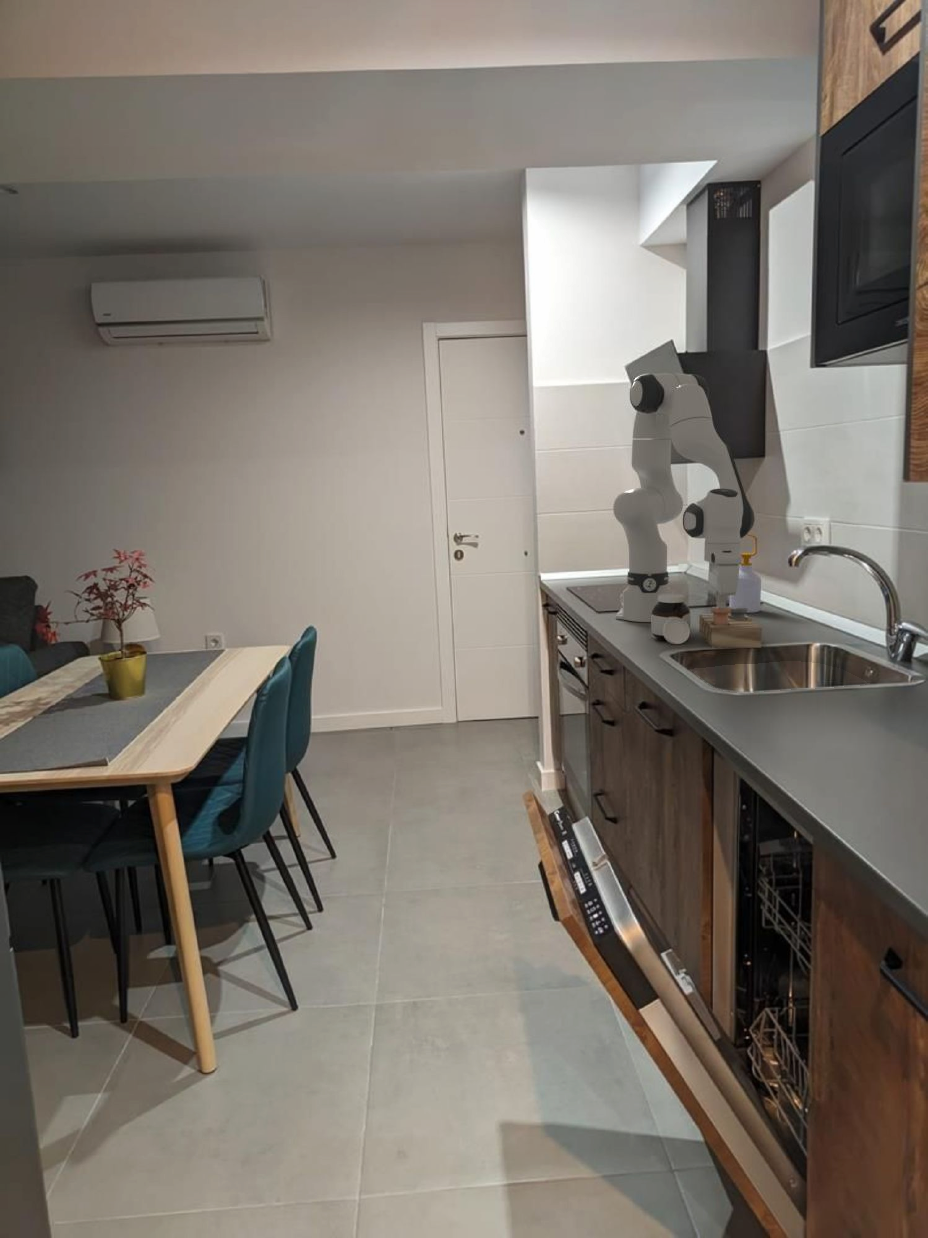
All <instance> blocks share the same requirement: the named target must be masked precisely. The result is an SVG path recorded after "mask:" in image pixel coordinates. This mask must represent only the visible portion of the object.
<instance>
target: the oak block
mask: <svg viewBox="0 0 928 1238" xmlns="http://www.w3.org/2000/svg"><path fill="white" fill-rule="evenodd" d="M730 618H731V613H728V626H713V613H708V614H707V613H705V614H704V613H701V614H699V624H698V625H699V627H698V629H699V630H698V633H701V634H700V635H701V636H702V638H705V639H704V640H705V642H706V643H707V644H708V643H709V644H710V645H711V646H712V647H735V649H736V648H762V633H763V632H762V631H763V630H762V626H760V625H759V624H758V623H757V622H756V621H754V620H753V619H752V618H751V617H749V616H748V615H747V613H745V619H730ZM709 644H708V645H709ZM710 645H709V646H710ZM711 646H710V647H711ZM712 647H711V648H712Z"/></svg>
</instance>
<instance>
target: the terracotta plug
mask: <svg viewBox="0 0 928 1238" xmlns="http://www.w3.org/2000/svg"><path fill="white" fill-rule="evenodd" d="M710 612H711V614H713V626H728V614H731V608H730V607H729V606H726V608H725V609H720V608H718V607H717V606H712V607H711V609H710Z"/></svg>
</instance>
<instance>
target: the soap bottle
mask: <svg viewBox="0 0 928 1238" xmlns="http://www.w3.org/2000/svg"><path fill="white" fill-rule="evenodd" d="M746 536H750V537H751V538H754V550H753V552H741V555H742V564H739V578H738V587H737V592H736V594H735V595H729V606H728V607H734V606H739V607H746V608H747V612H746V613H745V614H751V613H752V614H753V613H757V612H760V610H761V598H762V578H761V576H759V574H757V573H756V572H754V571H753V569H752V568H753V566H752V565H753V563H752V562H750V559H752V556H756V555H757V552H758V549H757V548H758V538H757V536H756V535H754V534H752V533H750V532H748V534H747V535H746Z"/></svg>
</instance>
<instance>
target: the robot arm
mask: <svg viewBox="0 0 928 1238" xmlns="http://www.w3.org/2000/svg"><path fill="white" fill-rule="evenodd" d="M709 391H710V390H709V386H708V382H707V381H706V379H705V378H704V377H702V376H701V375H698V374H693V373H690V374H688V373H680V372H669V373H668V372H667V373H645V374H644V373H643V374H641V375H638V376H636V377H635V379H634V380H633V381H632V383H631V385H630V388H629V401H630V402H629V403H630V404H631V406H632V408H633V409H634V410H635V411H636V412H635V416H634V422H633V427H632V429H633V430H632V445H631V446H632V447H631V467H632V469H633V470H634V471H635V473H636V474H637V476H638V479H639V483H640V485H639V486H640V487H639V488H637V487H636V488H635V487H634V488H631V489H628V490H625V491H624V492H621V493H620V494H618V495H617V496H616V497H615V500H614V501H613V506H612V507H613V508H612V509H613V515H614V517H615V519H616V520H617V522H618V523H620V524H621V527H622V528H623V530H624V532H625V536H626V539H627V545H628V572H627V576H626V579H627V581H626V582H627V584H628V585H627V586H626V588H625V589H624V590H623V591H622V593H621V594H620V599H619V601H620V603H621V604H620V609H619V611H618V612H617V613H616V615H615V619H616V620H625V621H631V622H636V623H637V622H639V623H640V622H641V623H651V614H652V610H653V608H654V606H655V605H656V604H657V603H658V595H661V594H674V590H672V588H671V587H669V585H668V584H669V577H670V576H669V571H668V546H667V544H666V542H665V541H664V540H663V539H662V537H661V535H660V531H659V526H658V525H661V524H667V523H669V522H671V521H673V520H675V519H676V518H677V519H678V517H679V516H680V515H681V513H682V511H683V508H684V501H683V498H682V495H681V494H680V493H679V491H678V490H677V489H676V486H675V482H674V479H673V473H672V466H671V463H672V460H671V459H672V445H673V448H674V450H675V451H676V452H677V453H678V454H680V456H682V457H683V458H685V459H687V460H690V461H693V462H696V463H699V464H701V465H704V466H705V467H707V468H709V469H710V470H712V472H714V474H715V475H716V478H717V480H718V483H719V488H713V489H710V490H709V491H708V492H707V493H706V496H705V497H703V499H701V500H698V501H696V502H692V503H690V504H689V505H688V506H687V507H686V509H685V510H684V512H683V516H682V527H683V530H684V531H685V533H686V534H687V535H688V536H689V537H691V538H695V539H704V550H703V551H704V552H703V554H704V556H703V557H704V558H703V559H704V561H705V562H708V576H707V578H708V579H707V580H708V585H709V586H710V587H712V588H713V589H714V590H715V599H716V607H718V608H720V609H725V608H726V607H727V599H728V596H730V595H735V594H736V592H737V587H738V578H739V571H740V565H741V564H742V563H743V558H742V555H741V553H742V539H743V538H744V537H745V536H748V535H747V534H748V533H750V531H751V530H752V529H753V528H754V527H753V526H754V525H755V519H756V518H755V513H754V510H753V507H752V505H751V504H750V501H749V500H748V498H747V495H746V492H745V489H744V487H743V483H742V480H741V478H740V475H739V472H738V468H737V465H736V462H735V459H734V456H733V453H732V451H731V449H730V447H729V445H728V444H727V443H725V441H723V440H722V439H721V438H720V436H719V434H718V432H717V431H716V429H715V427H714V421H713V415H712V411H711V406H710V404H709Z"/></svg>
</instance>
